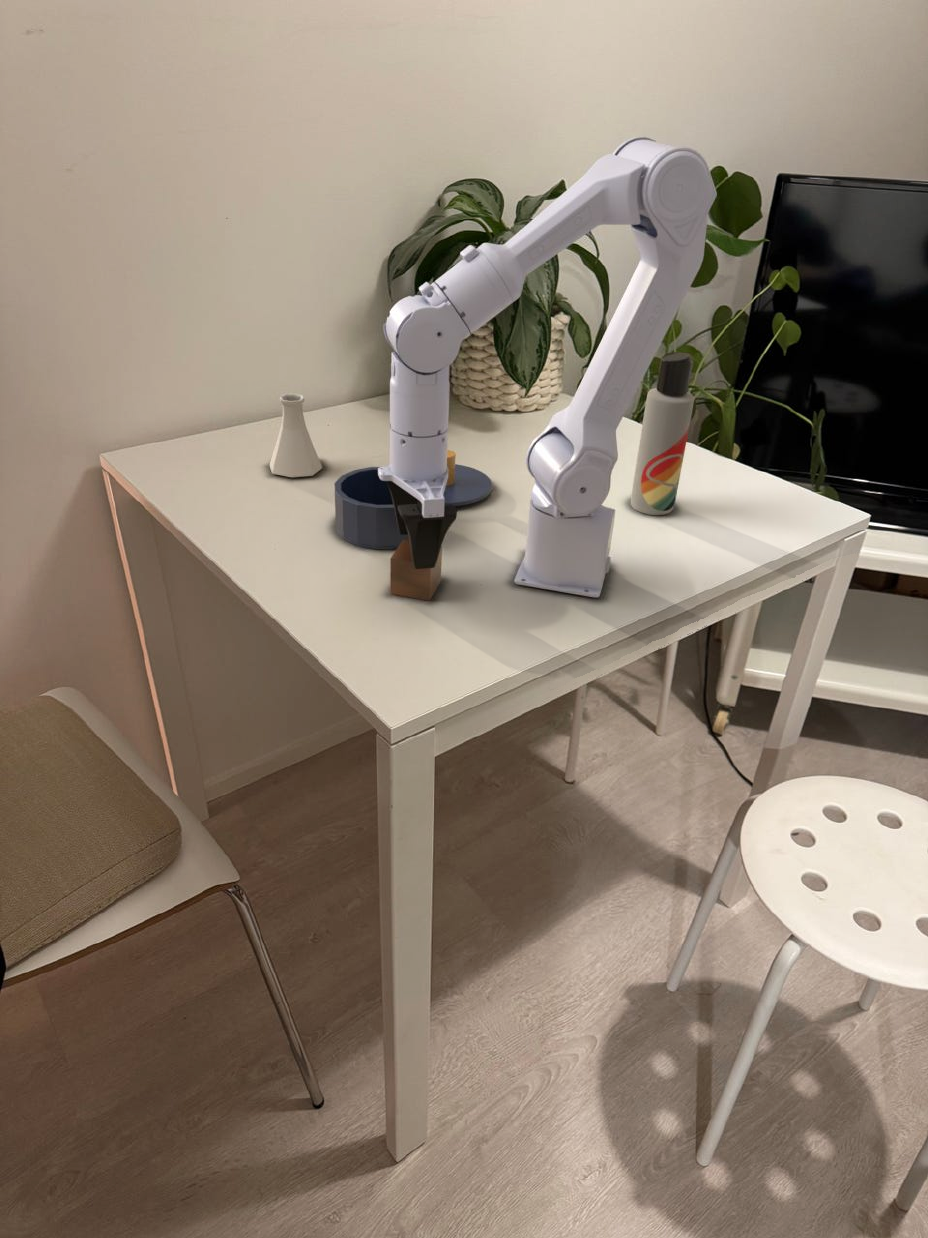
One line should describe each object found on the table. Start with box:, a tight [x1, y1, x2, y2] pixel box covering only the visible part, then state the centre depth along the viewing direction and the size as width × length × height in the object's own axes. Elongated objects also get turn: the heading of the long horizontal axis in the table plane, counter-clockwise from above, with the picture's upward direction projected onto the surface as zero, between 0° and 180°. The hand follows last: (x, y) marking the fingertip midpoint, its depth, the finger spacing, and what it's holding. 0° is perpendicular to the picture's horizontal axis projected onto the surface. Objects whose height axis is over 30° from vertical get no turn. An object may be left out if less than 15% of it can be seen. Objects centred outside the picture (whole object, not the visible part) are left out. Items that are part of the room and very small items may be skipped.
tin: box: [333, 466, 409, 550], centre depth 109 cm, size 12×12×5 cm
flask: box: [269, 393, 323, 478], centre depth 121 cm, size 7×7×10 cm
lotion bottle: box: [630, 352, 695, 516], centre depth 113 cm, size 6×6×20 cm
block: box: [389, 540, 443, 602], centre depth 97 cm, size 4×4×4 cm
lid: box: [443, 449, 493, 507], centre depth 119 cm, size 13×13×5 cm
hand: (416, 549), depth 96 cm, fingers open, 7 cm apart
